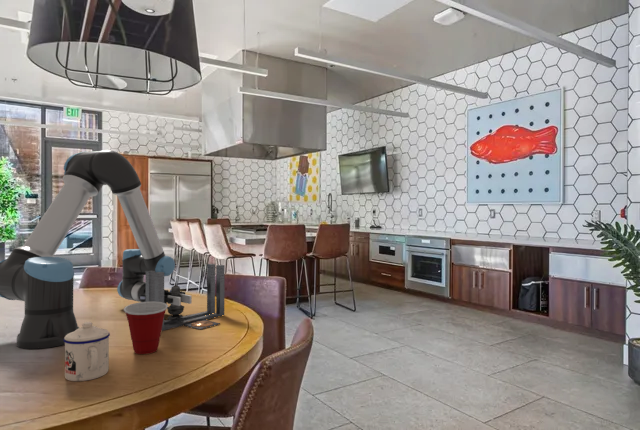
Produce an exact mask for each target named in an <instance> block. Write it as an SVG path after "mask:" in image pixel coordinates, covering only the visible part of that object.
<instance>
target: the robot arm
mask: <svg viewBox="0 0 640 430" xmlns="http://www.w3.org/2000/svg"><path fill="white" fill-rule="evenodd" d="M63 171H64V172H63V176H62V181H63V186H62V187H61V188H60V189H59V192H58V193H57V194H56V196H55V197H54V199H53V200H52V202H51V204H49V207H48V208H47V209H46V210H45V211H44V214H43V215H42V216H41V218H40V220H39V221H38V223H37V224H36V226H35V227H34V228H33V230H32V232H31V233H30V235H29V236H28V237H27V239H26V241H25V242H24V244H23V245H22V246H18V247H14V248H13V250H12V251H11V252H10V254H9V255H8V257H7V258H5V259H3V260H0V298H3V299H6V300H8V301H9V300H10V301H21V302H24V315H23V316H24V317H23V321H22V323H21V325H20V330H19V333H18V334H17V336H16V347H17V348H20V349H25V350H26V349H27V350H28V349H29V350H30V349H31V350H35V349H36V350H38V349H47V348H54V347H59V346H63V345H64V346H65V342H64V337H65V336H66V335H67V334H69V333H71V332H74V331H75V330H77V329H78V328H80V327H79V325H78V322H77V318H76V315H75V312H74V282H75V281H74V277H75V271H74V264H73V262H72V261H71V260H70V259H67V258H63V257H59V256H55V254H56V252H57V251H58V250H59V248H60V246H61V244H62V243H63V242H64V240H65V238H66V237H67V235H68V233H69V231H70V230H71V228H72V226H73V225H74V224H75V222H76V220H77V219H78V217H79V216H80V214H81V212H82V210H83V209H84V208H85V205H86V204H87V203H88V201H89V199H90V198H91V197H96V196H98V195H99V192H100V191H101V189H102V188H103V186H105V185H106V186H108V187H109V188H110V190H111V193H112V194H113V195H116V197H117V199H118V201H119V204H120V207H121V208H122V210H123V213H124V216H125V218H126V221H127V223H128V225H129V227H130V230H131V233H132V236H133V237H134V240H135V242H136V245H137V248H129V249H125V250H123V252H122V260H121V261H122V262H121V264H122V279H121V281H120V282H119V283H118V285H117V288H116V290H117V291H116V292H117V294H118V295H119V296H120V297H121V298H123V299H125V300H128V301H134V302H137V303H139V302H146V281H144V280H145V278H144V277H145V276H146V271H155V272H164V277H169V276H171V275H172V274H173V272H174V271H175V269H176V268H175V267H176V264H175V259H173V258H172V256H168V255H166V254H165V251H164V248H163V246H162V243H161V241H160V237H159V235H158V233H157V230H156V228H155V224H154V222H153V220H152V217H151V215H150V212H149V209H148V207H147V204H146V201H145V199H144V196H143V194H142V191H141V187H142V182H141V179H140V177H139V176H138V173H137V171H136V169H135V168H134V166H133V165H132V164H131V162H130V161H129V160H128V159H127V158H126V157H125V156H124V155H123V154H121V153H119V152H118V151H114V150H111V149H104V150H95V151H80V152H77V153H74V154H72V155H70V156H69V157H68V158H67V159H66V161H65V162H64V165H63ZM54 256H55V257H54ZM180 295H181V297H176V296H171V289H169V290H168V289H164V303H166V304H167V305H171V304H172V305H177V306H181V305H182V303H183V304H187V305H190V304H191V305H192V298H193V296H192V294H191V295H189V294H186V292H185V291H183V290H180Z"/></svg>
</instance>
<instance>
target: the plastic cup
mask: <svg viewBox="0 0 640 430" xmlns="http://www.w3.org/2000/svg"><path fill="white" fill-rule="evenodd" d="M167 307H169V304H168V303H167V304H166V303H162V302H136V303H135V302H134V303H131V304H128V305H126V306H124V308H123V312H124V313H125V314H126V315H125V316H126V319H127V322H128V327H129V335H130V339H131V342H132V348H133V349H132V350H133V351H134V354H137V355H149V354H152V353H155V352H156V351H158V349H159V345H160V340H161V339H160V338H161V335H162V331H161V330H162V324H163V318H164V319H165V314H166V311H167V310H168V309H167Z"/></svg>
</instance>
